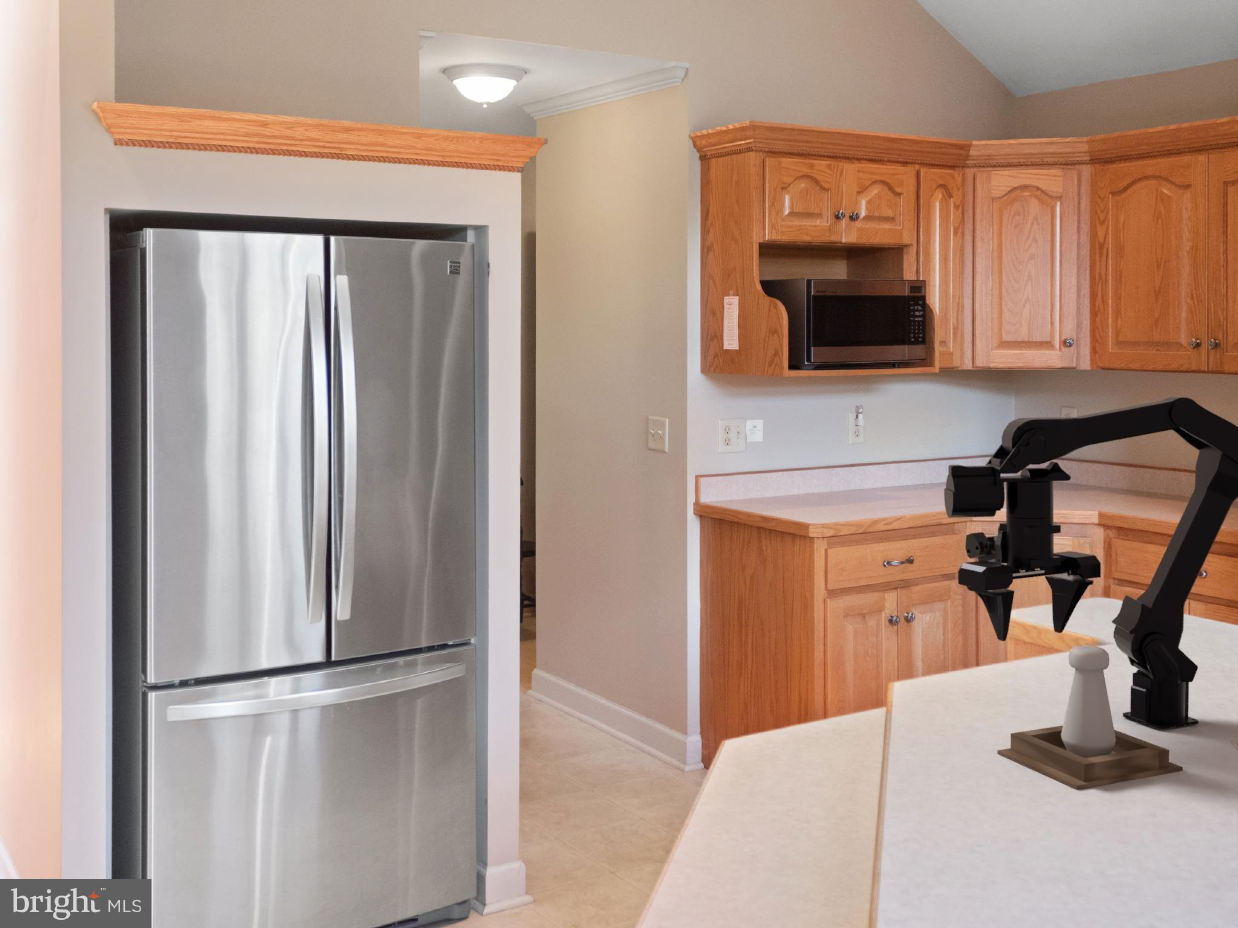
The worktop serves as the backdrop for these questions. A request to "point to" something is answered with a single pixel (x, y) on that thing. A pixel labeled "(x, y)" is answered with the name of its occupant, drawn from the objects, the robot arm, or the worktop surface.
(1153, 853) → the worktop surface
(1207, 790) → the worktop surface
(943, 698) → the worktop surface
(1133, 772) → the brown flat rectangular frame
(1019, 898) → the worktop surface
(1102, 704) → the salt shaker
